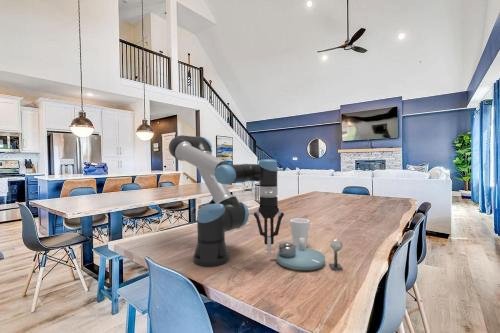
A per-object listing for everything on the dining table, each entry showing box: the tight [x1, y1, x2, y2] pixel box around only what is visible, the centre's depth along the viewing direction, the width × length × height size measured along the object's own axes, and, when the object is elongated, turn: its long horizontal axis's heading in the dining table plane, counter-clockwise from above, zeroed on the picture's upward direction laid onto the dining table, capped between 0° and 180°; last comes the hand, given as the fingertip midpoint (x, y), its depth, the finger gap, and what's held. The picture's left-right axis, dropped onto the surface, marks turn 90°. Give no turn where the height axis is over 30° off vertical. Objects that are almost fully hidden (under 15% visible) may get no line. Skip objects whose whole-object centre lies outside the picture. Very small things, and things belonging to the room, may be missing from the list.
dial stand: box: [328, 238, 343, 271], centre depth 103 cm, size 4×4×12 cm
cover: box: [278, 241, 296, 259], centre depth 109 cm, size 7×7×5 cm
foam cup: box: [289, 217, 311, 248], centre depth 128 cm, size 10×9×13 cm
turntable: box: [276, 238, 326, 271], centre depth 109 cm, size 20×20×7 cm
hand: (269, 251), depth 109 cm, fingers closed
